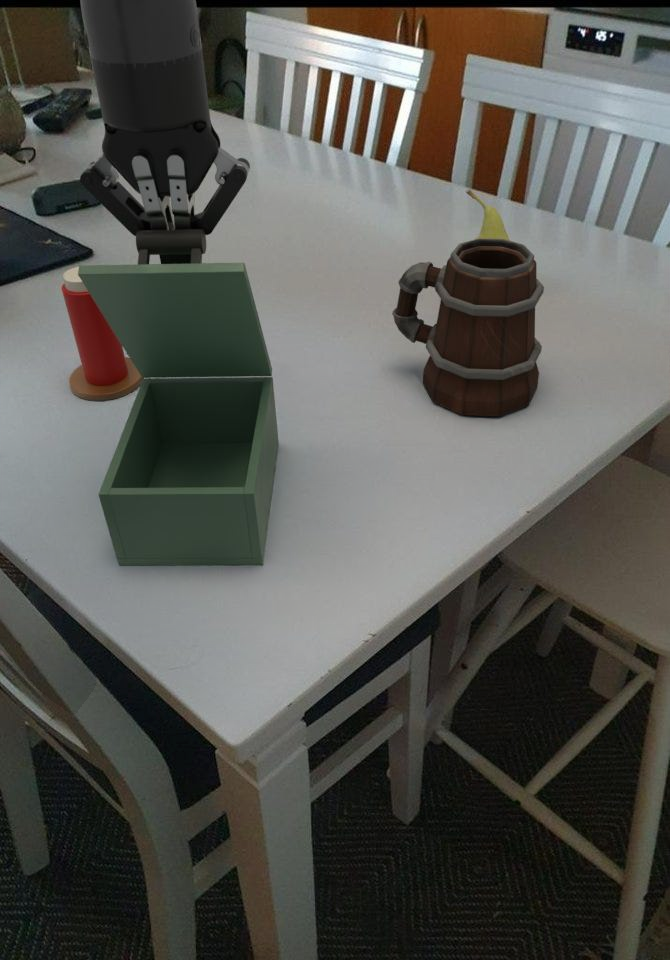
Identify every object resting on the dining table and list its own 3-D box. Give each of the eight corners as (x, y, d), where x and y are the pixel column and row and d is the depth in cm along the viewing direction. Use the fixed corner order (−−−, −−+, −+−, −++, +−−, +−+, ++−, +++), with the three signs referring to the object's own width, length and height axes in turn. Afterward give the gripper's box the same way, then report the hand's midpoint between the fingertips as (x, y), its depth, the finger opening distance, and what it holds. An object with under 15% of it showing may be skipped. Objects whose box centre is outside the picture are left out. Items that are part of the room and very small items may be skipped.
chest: (262, 565, 67) (253, 493, 62) (118, 565, 67) (98, 494, 63) (278, 444, 80) (272, 376, 75) (157, 445, 80) (143, 378, 75)
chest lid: (244, 271, 58) (246, 212, 59) (77, 274, 58) (84, 215, 60) (272, 376, 74) (273, 328, 76) (141, 378, 75) (146, 329, 76)
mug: (546, 369, 89) (566, 238, 79) (517, 429, 80) (536, 290, 71) (411, 342, 94) (415, 216, 84) (371, 396, 86) (371, 263, 76)
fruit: (503, 303, 101) (513, 208, 93) (448, 290, 104) (453, 197, 96) (523, 282, 105) (534, 190, 97) (470, 270, 108) (477, 180, 101)
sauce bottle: (92, 390, 87) (64, 287, 79) (80, 371, 90) (53, 270, 82) (133, 378, 88) (110, 276, 81) (121, 359, 92) (97, 259, 84)
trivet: (81, 409, 86) (79, 402, 85) (62, 374, 91) (61, 368, 91) (153, 387, 88) (152, 381, 88) (131, 355, 94) (130, 349, 93)
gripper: (248, 31, 57) (268, 261, 68) (64, 36, 58) (113, 264, 69) (236, 55, 52) (259, 302, 63) (32, 61, 52) (91, 305, 63)
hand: (183, 282), depth 66 cm, fingers closed
